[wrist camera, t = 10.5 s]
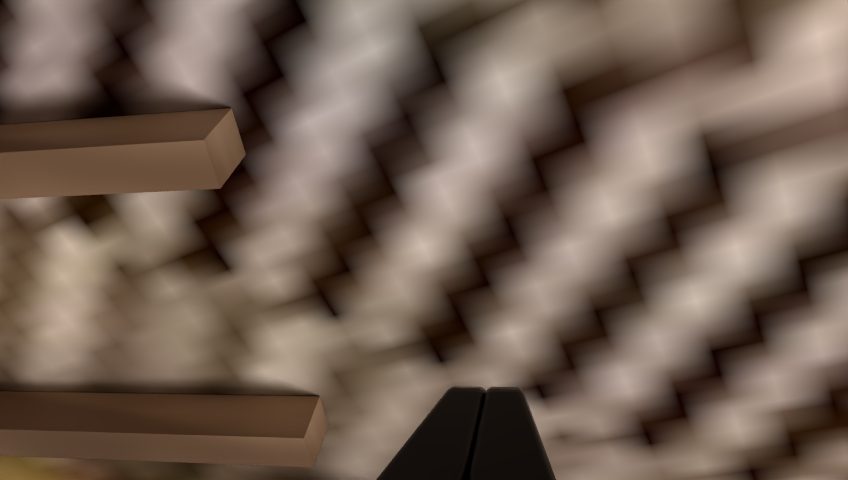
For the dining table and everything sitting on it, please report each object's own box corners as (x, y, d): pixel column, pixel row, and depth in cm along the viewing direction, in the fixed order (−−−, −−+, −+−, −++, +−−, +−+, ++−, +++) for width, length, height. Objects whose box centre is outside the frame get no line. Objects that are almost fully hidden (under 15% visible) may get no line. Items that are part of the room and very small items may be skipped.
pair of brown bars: (328, 425, 30) (313, 467, 28) (-31, 416, 33) (-63, 453, 31) (231, 108, 22) (203, 140, 21) (-211, 140, 26) (-264, 169, 24)
